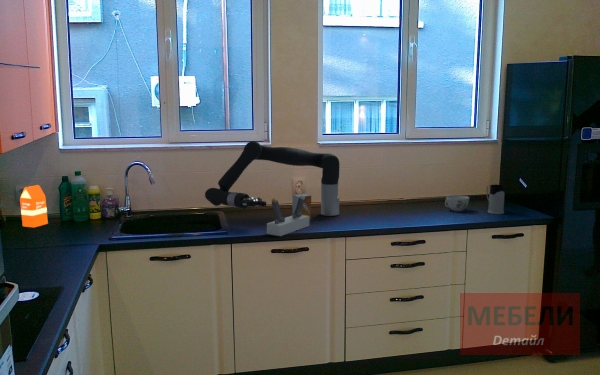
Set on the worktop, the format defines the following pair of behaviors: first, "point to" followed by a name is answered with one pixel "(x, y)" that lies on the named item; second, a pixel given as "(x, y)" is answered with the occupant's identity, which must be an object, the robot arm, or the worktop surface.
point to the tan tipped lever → (277, 209)
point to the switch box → (287, 225)
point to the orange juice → (33, 207)
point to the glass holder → (496, 199)
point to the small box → (306, 205)
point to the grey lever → (299, 205)
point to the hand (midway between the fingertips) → (265, 204)
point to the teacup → (457, 202)
